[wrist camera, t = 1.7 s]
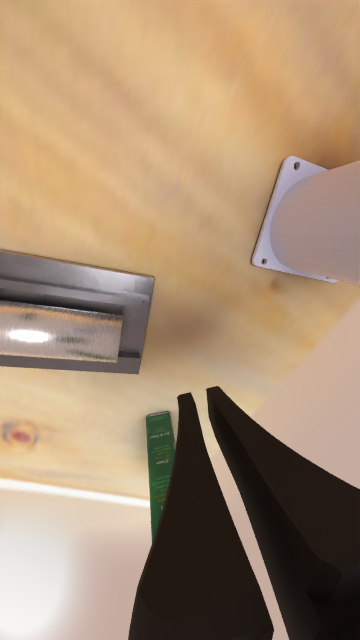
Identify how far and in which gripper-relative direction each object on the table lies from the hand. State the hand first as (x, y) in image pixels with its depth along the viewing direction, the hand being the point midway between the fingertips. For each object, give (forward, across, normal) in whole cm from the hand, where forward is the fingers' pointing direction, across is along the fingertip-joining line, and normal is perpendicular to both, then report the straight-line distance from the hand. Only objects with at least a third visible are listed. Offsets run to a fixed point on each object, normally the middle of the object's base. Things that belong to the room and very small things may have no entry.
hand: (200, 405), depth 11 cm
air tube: (+8, +10, -4) cm, 14 cm away
